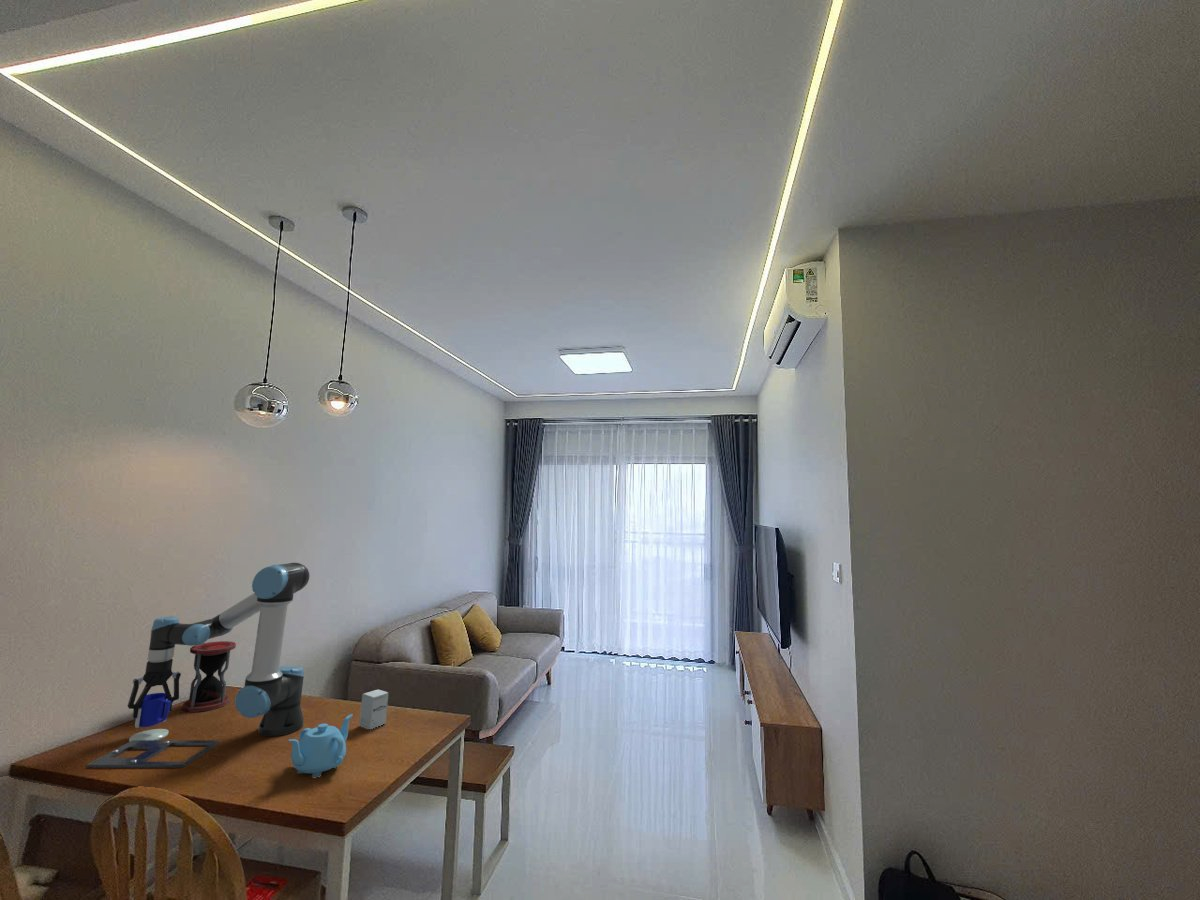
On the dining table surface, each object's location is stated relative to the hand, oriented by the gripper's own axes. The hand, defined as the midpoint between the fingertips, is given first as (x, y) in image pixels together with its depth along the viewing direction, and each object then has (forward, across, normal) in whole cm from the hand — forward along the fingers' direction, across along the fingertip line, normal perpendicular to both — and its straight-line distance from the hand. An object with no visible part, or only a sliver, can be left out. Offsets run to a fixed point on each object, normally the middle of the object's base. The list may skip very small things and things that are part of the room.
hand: (150, 723), depth 187 cm
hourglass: (+5, -22, -23) cm, 32 cm away
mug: (+1, -1, 0) cm, 1 cm away
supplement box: (+5, -62, +47) cm, 78 cm away
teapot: (+5, -34, +68) cm, 76 cm away
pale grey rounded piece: (+5, 0, 0) cm, 5 cm away
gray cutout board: (+5, +1, +19) cm, 20 cm away
